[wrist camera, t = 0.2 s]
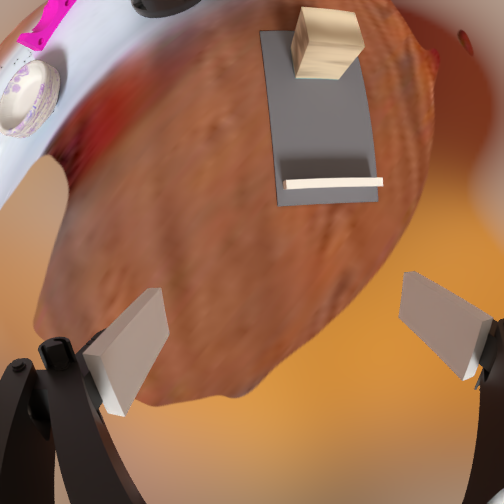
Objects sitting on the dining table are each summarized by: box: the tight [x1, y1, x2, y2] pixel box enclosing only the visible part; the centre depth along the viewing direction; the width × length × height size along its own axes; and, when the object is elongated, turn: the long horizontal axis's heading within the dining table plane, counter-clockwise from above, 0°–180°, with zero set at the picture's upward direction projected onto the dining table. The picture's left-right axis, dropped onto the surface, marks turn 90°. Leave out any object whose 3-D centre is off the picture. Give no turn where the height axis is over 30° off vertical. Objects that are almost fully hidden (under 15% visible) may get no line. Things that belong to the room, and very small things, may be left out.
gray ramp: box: [260, 31, 378, 206], centre depth 36 cm, size 30×16×1 cm, turn 5°
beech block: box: [290, 7, 365, 80], centre depth 29 cm, size 6×7×12 cm
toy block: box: [16, 0, 76, 51], centre depth 27 cm, size 15×6×8 cm, turn 156°
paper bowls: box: [0, 60, 60, 138], centre depth 31 cm, size 15×15×8 cm
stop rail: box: [283, 178, 383, 190], centre depth 37 cm, size 1×14×4 cm, turn 95°
